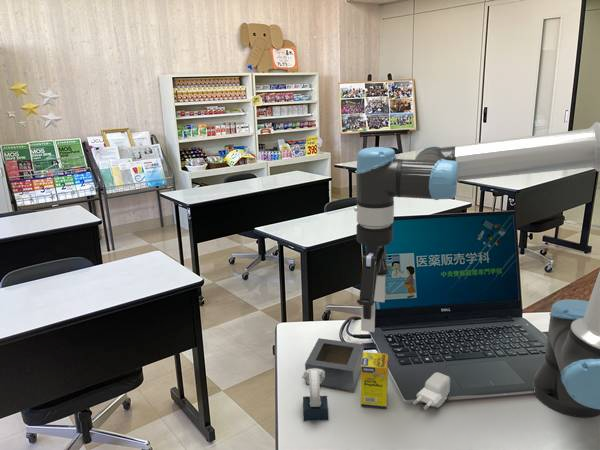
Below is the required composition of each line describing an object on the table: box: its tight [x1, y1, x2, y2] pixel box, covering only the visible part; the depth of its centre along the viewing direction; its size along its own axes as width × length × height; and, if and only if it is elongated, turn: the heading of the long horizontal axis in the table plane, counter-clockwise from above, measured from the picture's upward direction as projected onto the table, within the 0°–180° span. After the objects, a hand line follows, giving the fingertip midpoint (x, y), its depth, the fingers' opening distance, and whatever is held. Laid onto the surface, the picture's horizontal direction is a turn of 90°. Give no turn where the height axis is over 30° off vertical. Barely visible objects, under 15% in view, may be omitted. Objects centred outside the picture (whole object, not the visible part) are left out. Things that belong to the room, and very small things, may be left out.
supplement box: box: [360, 351, 389, 410], centre depth 109 cm, size 6×6×11 cm
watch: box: [301, 369, 329, 422], centre depth 106 cm, size 6×8×11 cm
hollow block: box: [304, 337, 364, 393], centre depth 120 cm, size 12×12×6 cm
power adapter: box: [412, 371, 451, 411], centre depth 107 cm, size 11×5×6 cm, turn 137°
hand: (373, 315), depth 104 cm, fingers open, 13 cm apart
